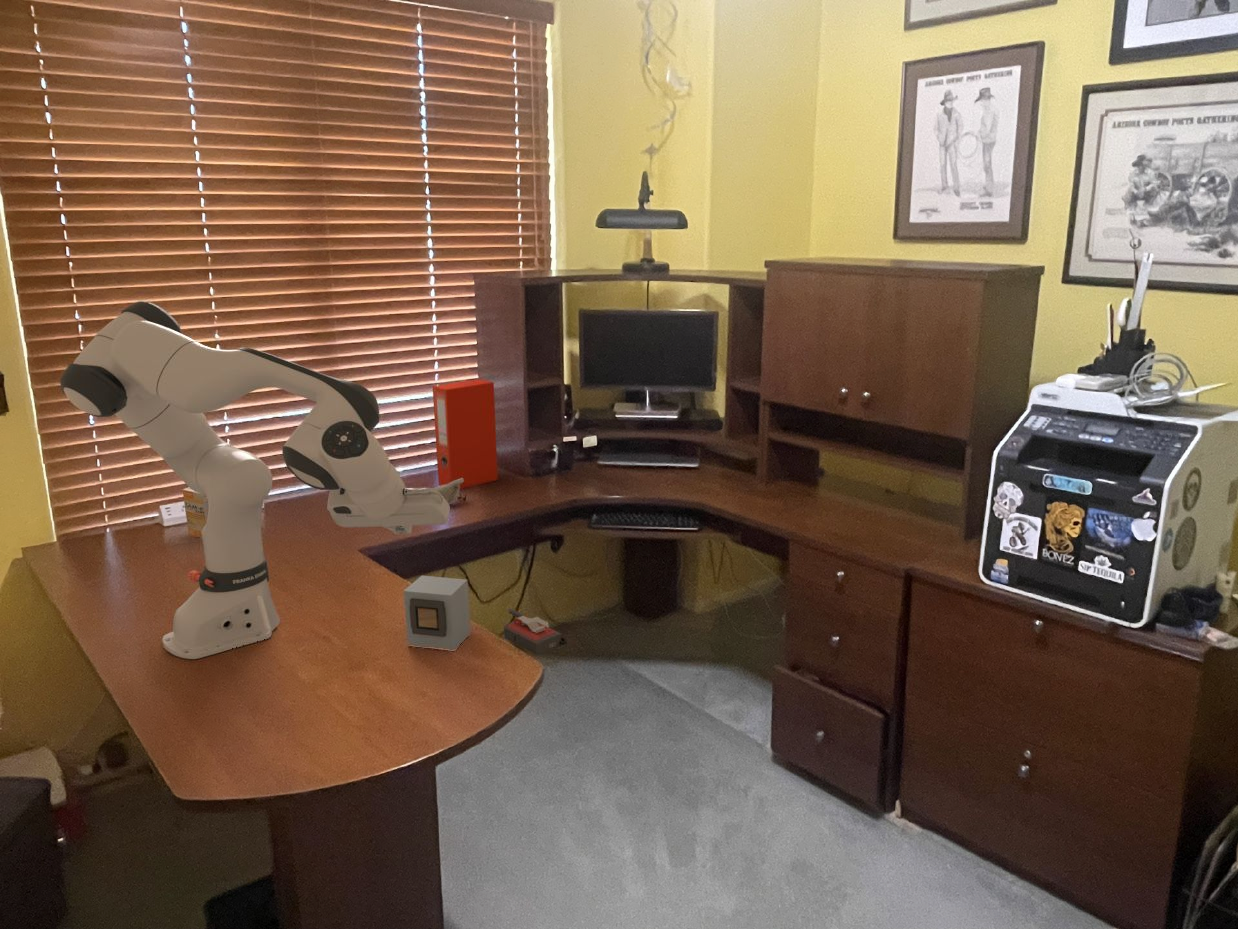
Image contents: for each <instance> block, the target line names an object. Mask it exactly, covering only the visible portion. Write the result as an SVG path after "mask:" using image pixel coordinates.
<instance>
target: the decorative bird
mask: <svg viewBox="0 0 1238 929" xmlns="http://www.w3.org/2000/svg"><path fill="white" fill-rule="evenodd" d="M463 481H464V480H463V478H461V479H457V480H455V481H453V482H451V483H449V484H445V485H441V486H439V485H438V486H435V487H434V488H433V487H432V489H435V490H437V491H438V492H439V493H440V494H441V495H442V496H443V497H444V498H445V500H446V501H447V502H448V504H449V505H450V503H453V502H454V501H456V499H457V501H461V502H462V503H467V494H465V495H464V497H462V492H460V489H459V488H460V484H461V483H463Z"/></svg>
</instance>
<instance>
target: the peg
mask: <svg viewBox="0 0 1238 929" xmlns="http://www.w3.org/2000/svg"><path fill="white" fill-rule="evenodd" d="M418 618H419V626H422V627H432V628H438V627H439V620H438V608H430V607H419V608H418Z"/></svg>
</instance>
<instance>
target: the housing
mask: <svg viewBox="0 0 1238 929" xmlns="http://www.w3.org/2000/svg"><path fill="white" fill-rule="evenodd" d="M468 582H469V581H468V579H465V578H463V579H462V578H451V577H442V576H433V575H420V576H419V577H418V578H417V579H416V580H414V581H413V582H412V583H411V584H410V585H409V586H408V587H406V588H405V589H404V590H403V598H404V599H403V600H404V602H403V603H404V612H405V614H404V615H405V623H406V638H407V646H408V645H414V646H420V647H434V648H443V649H449V650H455V649H456V648H457V647H458V646H459V645H460V643H462V641H464V639H466V638H467V636H469V637H470V635H471V634H472V633H471V620H470V619H471V618H470V615H471V614H470V600H469V586H468ZM419 607H430V608H438V620H439V627H438V628H432V627H422V626H419V618H418V608H419ZM469 634H470V635H469ZM466 640H467V639H466ZM464 642H465V641H464ZM462 644H463V643H462ZM460 646H461V645H460Z"/></svg>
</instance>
